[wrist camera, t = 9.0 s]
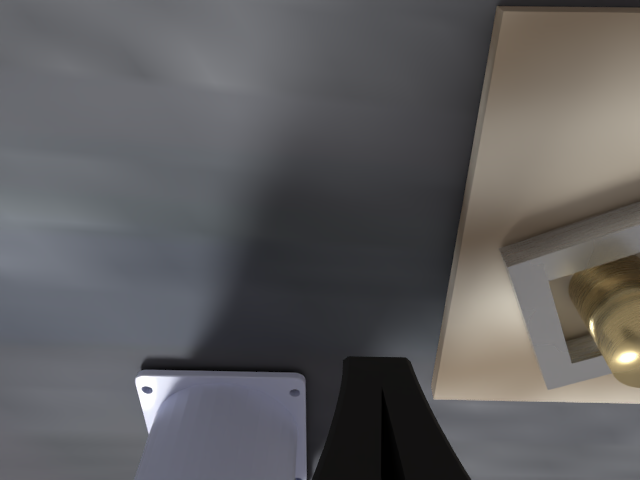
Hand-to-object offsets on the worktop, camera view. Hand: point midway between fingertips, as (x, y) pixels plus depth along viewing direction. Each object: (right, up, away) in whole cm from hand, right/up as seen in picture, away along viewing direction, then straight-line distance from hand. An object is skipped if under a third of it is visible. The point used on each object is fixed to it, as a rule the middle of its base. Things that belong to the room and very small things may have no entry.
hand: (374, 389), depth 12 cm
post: (+10, +2, +10) cm, 14 cm away
